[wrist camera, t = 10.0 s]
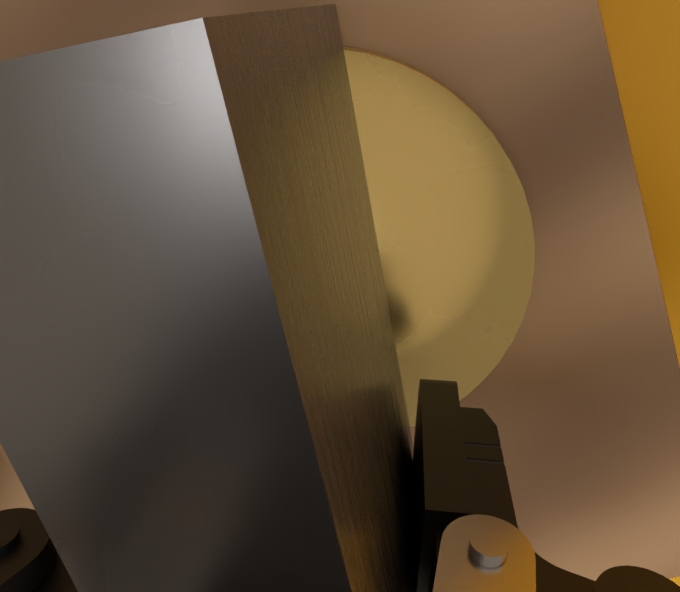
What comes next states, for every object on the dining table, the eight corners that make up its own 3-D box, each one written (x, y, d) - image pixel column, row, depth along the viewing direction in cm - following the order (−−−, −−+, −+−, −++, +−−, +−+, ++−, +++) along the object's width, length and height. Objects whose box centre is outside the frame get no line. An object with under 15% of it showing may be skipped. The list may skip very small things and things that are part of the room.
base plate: (-592, 101, 15) (-817, 124, 12) (421, -611, 9) (430, -894, 6) (-40, 663, 23) (-100, 754, 20) (690, 506, 17) (746, 607, 14)
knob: (61, 61, 11) (-554, 180, 4) (509, -33, 10) (797, -112, 3) (201, 453, 15) (13, 879, 8) (539, 421, 14) (693, 896, 6)
